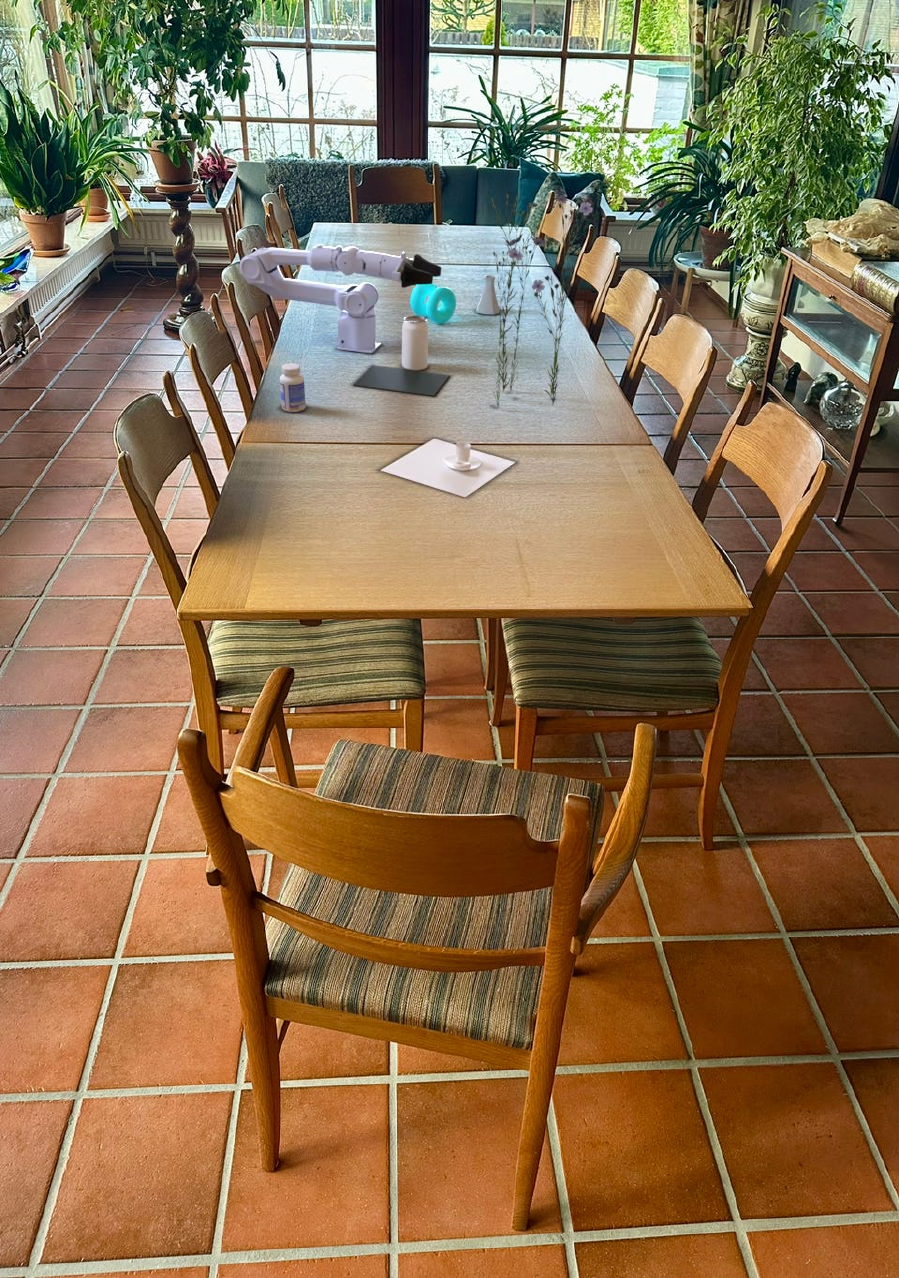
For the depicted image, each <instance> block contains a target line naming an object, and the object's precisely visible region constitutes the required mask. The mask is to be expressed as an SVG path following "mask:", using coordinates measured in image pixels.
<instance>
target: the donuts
mask: <svg viewBox="0 0 899 1278" xmlns="http://www.w3.org/2000/svg"><path fill="white" fill-rule="evenodd" d="M427 297H428V298H427ZM409 302H410V308H411V311H412V313H413V314H414V315H415V316H423V317H425V318H428V319H429V320H430V321H431V322H432V323H434V324H441V325H442V324H444V323H447V322H448V321H449V320H450V319H451V318H453V315H454V313H455V311H456V306H457V298H456V295H455V293H454V291H453V290H452V289H451V288H449V287H447V286H439V287H438V286H437V284H435V282H433V283H432V284H420V285H415V287H414V288H413V289H412V292H411V295H410V301H409ZM440 303H441V304H440ZM439 304H440V306H439Z"/></svg>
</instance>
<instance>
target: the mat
mask: <svg viewBox="0 0 899 1278" xmlns="http://www.w3.org/2000/svg"><path fill="white" fill-rule="evenodd" d="M449 378H450V375H449V374H442V373H434V372H428V371H421V370H420V371H412V370H407V369H405V368H396V367H389V366H381V365H374V364H373V365H371V366H370V367H369V368H368V369H367V370H366V371H365V372H364V373H363V374H362V375H361V376H360V377H359V378H358V380H356V381H355V382H354V383H353V387H359V388H366V389H374V390H381V391H388V392H394V393H395V392H396V393H403V394H411V395H419V396H426V397H433V398H434V397H435V396H436V395H437V394H438V392H439V391H440V390H441V388H442V387H443V386H444V384H446V382H447V380H448V379H449Z"/></svg>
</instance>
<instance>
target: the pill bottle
mask: <svg viewBox="0 0 899 1278" xmlns="http://www.w3.org/2000/svg"><path fill="white" fill-rule="evenodd" d="M281 373H282V374H281V375H280V376H279V390H280V391H279V392H280V406H281V409H282V410H283V411H285V412H287V413H298V412H302V411H304V410H305V409H306V390H305V389H306V387H305V377H304V375H302V373H301V366H300V365H299V364H298V363H284V364H282V366H281Z"/></svg>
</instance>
